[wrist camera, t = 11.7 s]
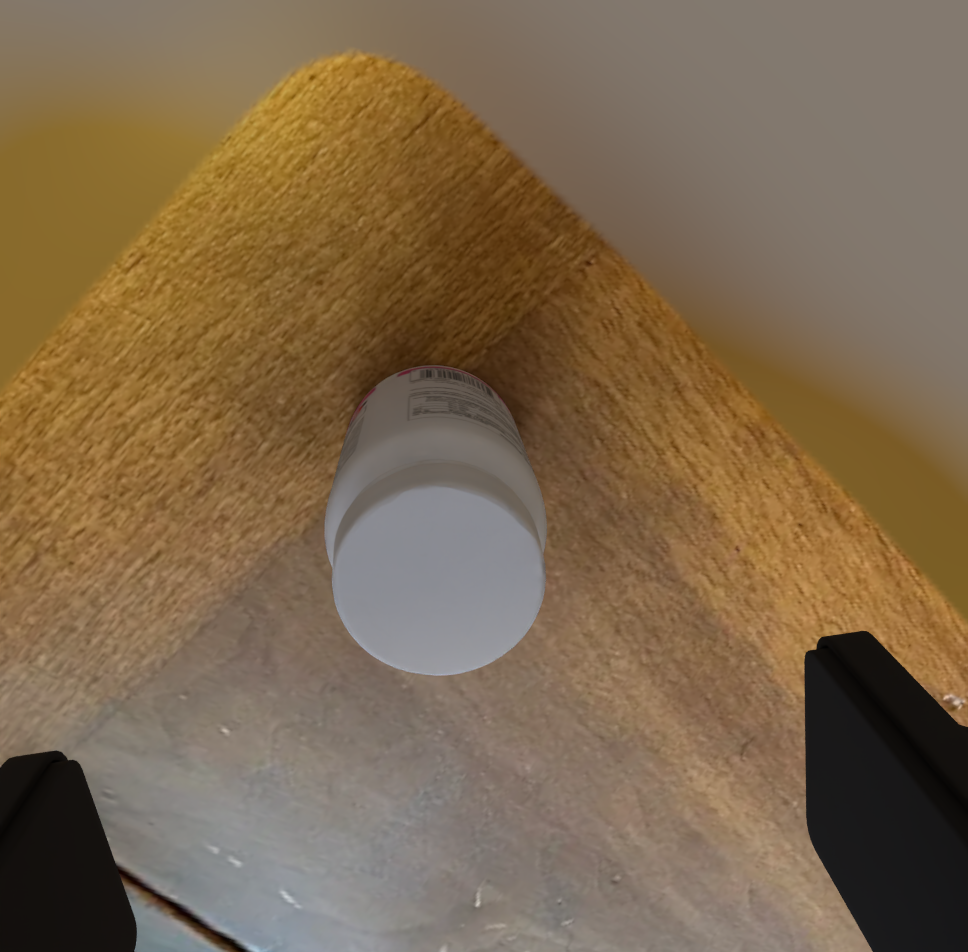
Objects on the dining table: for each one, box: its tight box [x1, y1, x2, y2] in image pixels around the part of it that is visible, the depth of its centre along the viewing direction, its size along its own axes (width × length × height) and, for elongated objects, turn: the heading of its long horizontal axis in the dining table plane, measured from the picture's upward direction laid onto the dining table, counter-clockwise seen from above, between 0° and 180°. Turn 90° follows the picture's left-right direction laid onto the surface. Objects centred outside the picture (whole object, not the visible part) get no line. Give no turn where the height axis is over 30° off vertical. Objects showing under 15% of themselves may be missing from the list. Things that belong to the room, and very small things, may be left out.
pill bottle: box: [325, 365, 547, 675], centre depth 20 cm, size 5×5×8 cm
